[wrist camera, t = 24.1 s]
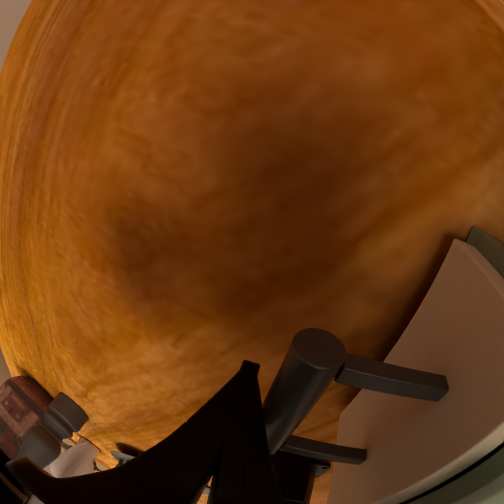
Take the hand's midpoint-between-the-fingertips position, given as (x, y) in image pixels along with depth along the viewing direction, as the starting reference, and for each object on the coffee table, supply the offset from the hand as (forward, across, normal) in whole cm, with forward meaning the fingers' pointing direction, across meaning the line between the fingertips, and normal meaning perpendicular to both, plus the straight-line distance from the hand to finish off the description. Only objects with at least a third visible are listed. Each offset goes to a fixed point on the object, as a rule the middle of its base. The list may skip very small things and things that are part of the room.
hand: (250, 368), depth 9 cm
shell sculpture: (+6, +28, +59) cm, 65 cm away
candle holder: (+6, +24, +34) cm, 42 cm away
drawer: (+3, -10, 0) cm, 10 cm away
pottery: (+6, +37, +44) cm, 58 cm away
